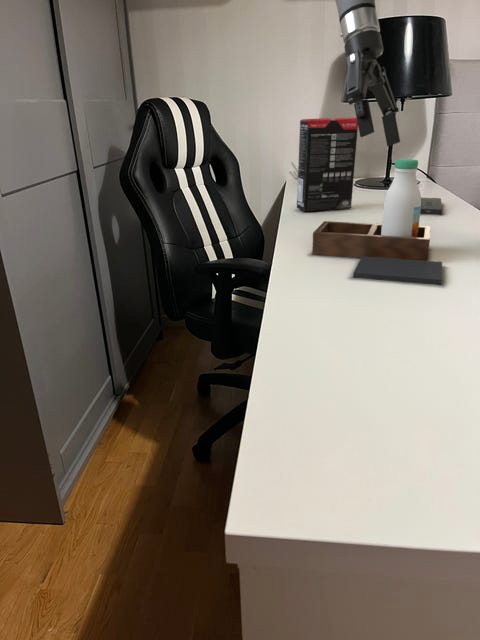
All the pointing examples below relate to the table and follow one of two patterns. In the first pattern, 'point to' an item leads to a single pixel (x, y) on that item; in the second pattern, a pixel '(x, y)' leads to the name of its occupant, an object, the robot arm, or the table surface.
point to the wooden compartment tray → (368, 241)
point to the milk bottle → (402, 202)
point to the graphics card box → (326, 163)
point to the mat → (399, 270)
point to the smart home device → (431, 206)
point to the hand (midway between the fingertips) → (381, 139)
